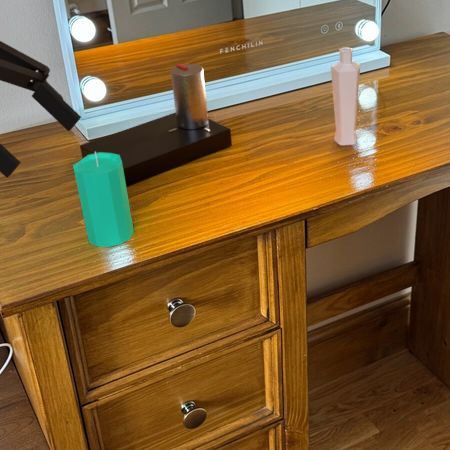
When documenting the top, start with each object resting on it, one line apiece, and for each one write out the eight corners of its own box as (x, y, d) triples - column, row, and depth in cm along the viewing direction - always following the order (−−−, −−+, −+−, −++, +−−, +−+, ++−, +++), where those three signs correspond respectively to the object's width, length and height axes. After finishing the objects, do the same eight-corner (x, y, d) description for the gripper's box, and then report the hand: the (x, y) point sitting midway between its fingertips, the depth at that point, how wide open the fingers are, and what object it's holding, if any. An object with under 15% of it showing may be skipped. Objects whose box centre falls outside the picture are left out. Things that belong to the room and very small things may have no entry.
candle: (122, 218, 104) (107, 137, 98) (141, 236, 100) (128, 153, 93) (80, 233, 101) (62, 150, 95) (98, 252, 97) (81, 167, 90)
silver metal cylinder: (214, 123, 123) (209, 67, 118) (189, 132, 120) (182, 75, 115) (196, 114, 126) (190, 60, 121) (171, 123, 123) (164, 68, 118)
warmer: (123, 188, 111) (120, 169, 109) (82, 162, 119) (79, 144, 117) (239, 142, 123) (238, 124, 122) (196, 122, 131) (194, 104, 129)
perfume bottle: (346, 149, 120) (346, 56, 112) (327, 141, 123) (326, 50, 115) (366, 140, 123) (368, 49, 115) (347, 132, 125) (347, 43, 118)
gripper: (-34, 12, 104) (83, 123, 108) (-180, 76, 84) (-31, 210, 88) (-10, -26, 100) (110, 91, 104) (-158, 31, 80) (-2, 174, 84)
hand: (46, 146), depth 96 cm, fingers open, 13 cm apart
